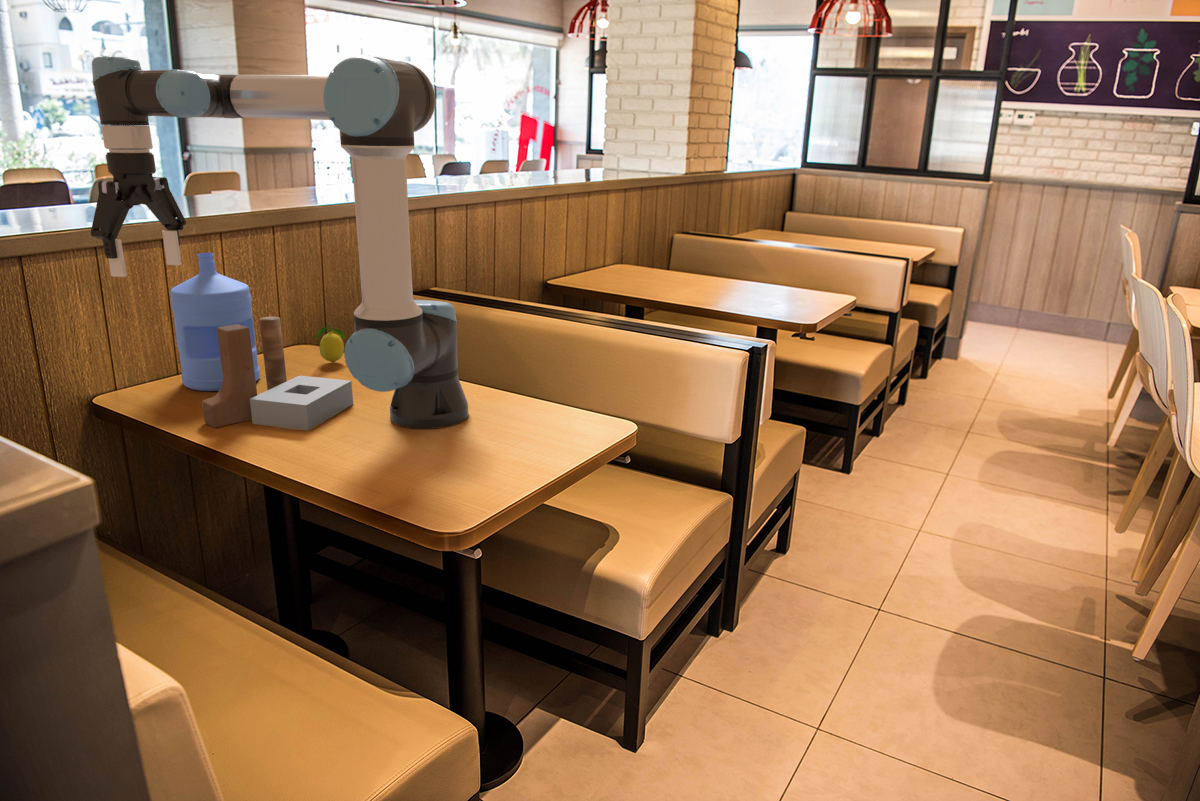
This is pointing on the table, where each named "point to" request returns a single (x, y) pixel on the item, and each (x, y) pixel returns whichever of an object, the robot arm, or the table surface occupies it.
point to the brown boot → (233, 379)
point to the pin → (273, 351)
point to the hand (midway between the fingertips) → (147, 270)
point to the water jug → (208, 323)
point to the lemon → (331, 344)
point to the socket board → (301, 402)
